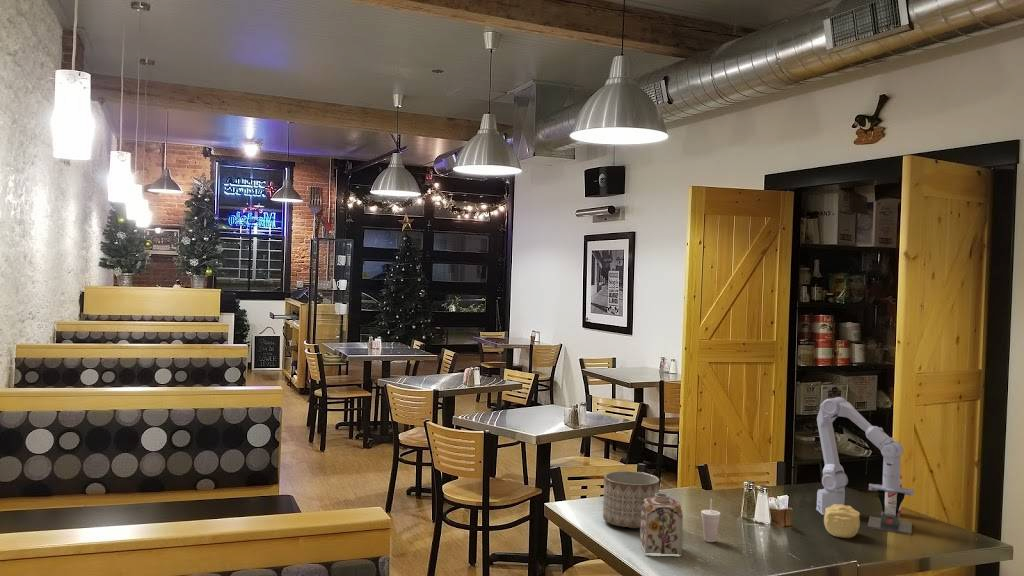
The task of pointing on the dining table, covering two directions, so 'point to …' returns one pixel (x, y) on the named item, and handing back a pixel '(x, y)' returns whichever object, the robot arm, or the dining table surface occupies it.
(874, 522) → the grey square base
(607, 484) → the planter
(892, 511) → the block
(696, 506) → the dining table surface
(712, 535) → the smoothie
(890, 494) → the beer can
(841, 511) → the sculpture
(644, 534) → the decorative jar
